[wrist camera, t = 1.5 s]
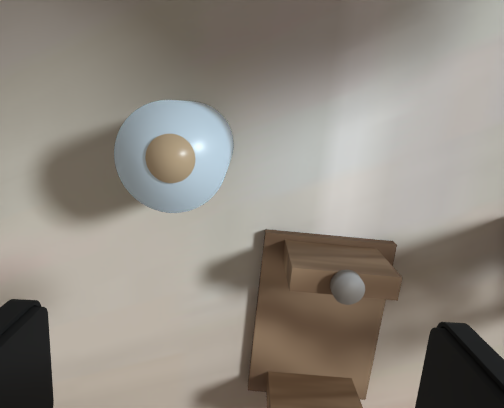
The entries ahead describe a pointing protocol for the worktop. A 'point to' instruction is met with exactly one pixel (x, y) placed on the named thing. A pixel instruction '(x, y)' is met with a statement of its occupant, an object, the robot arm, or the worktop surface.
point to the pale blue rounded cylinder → (173, 154)
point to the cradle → (319, 318)
